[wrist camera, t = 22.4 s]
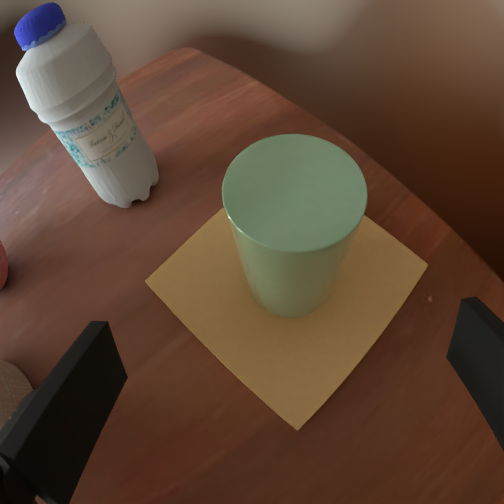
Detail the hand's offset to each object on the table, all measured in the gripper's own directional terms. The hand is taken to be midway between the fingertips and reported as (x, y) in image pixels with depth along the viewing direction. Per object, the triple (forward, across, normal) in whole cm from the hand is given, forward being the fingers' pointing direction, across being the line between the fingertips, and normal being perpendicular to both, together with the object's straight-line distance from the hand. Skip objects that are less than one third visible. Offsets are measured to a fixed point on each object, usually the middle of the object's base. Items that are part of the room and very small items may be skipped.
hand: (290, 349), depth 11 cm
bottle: (+20, -13, +4) cm, 25 cm away
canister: (+13, +1, -3) cm, 13 cm away
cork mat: (+13, +1, -3) cm, 14 cm away
